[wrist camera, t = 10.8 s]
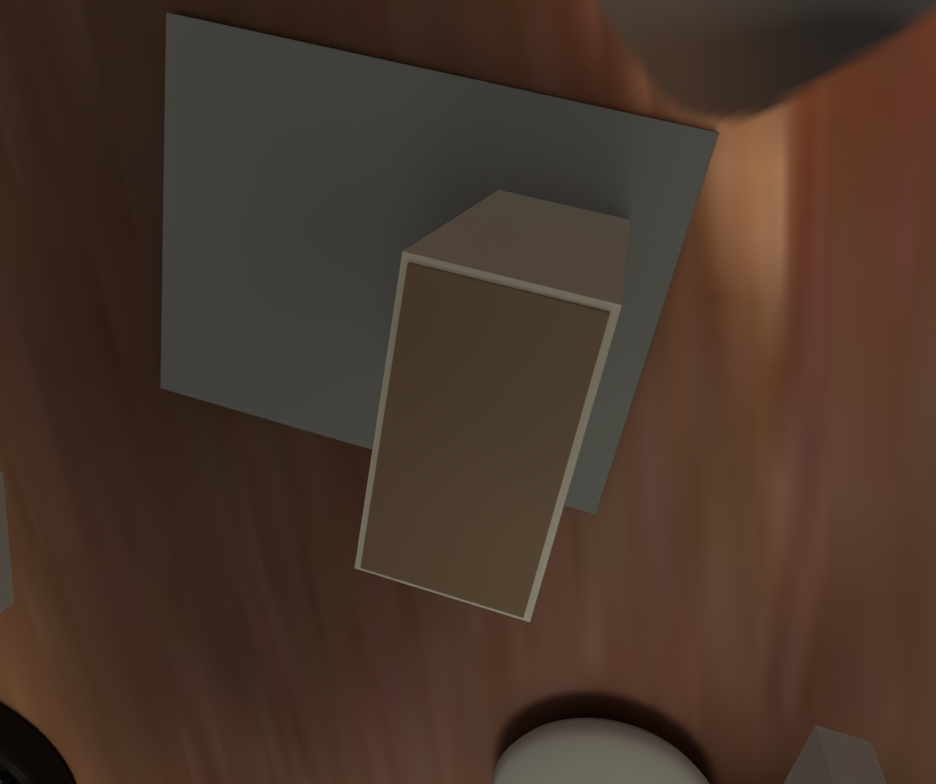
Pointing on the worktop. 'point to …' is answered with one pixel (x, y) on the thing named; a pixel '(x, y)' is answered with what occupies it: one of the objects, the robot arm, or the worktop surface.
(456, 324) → the block
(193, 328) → the mat
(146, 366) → the worktop surface
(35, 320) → the worktop surface
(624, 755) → the flower in vase
